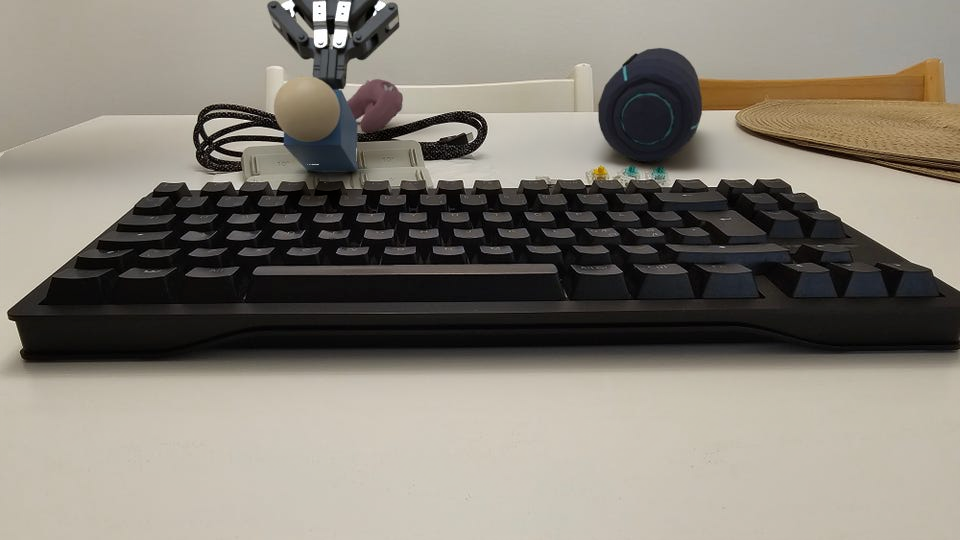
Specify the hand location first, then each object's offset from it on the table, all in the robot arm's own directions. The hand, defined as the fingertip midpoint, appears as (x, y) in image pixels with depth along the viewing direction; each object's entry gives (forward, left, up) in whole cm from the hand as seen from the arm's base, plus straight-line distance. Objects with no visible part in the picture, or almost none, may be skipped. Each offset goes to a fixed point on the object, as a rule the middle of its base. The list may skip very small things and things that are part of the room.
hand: (328, 89), depth 63 cm
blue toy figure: (0, 0, -5) cm, 5 cm away
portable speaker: (+30, +18, -7) cm, 36 cm away
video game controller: (-4, +22, -8) cm, 24 cm away
